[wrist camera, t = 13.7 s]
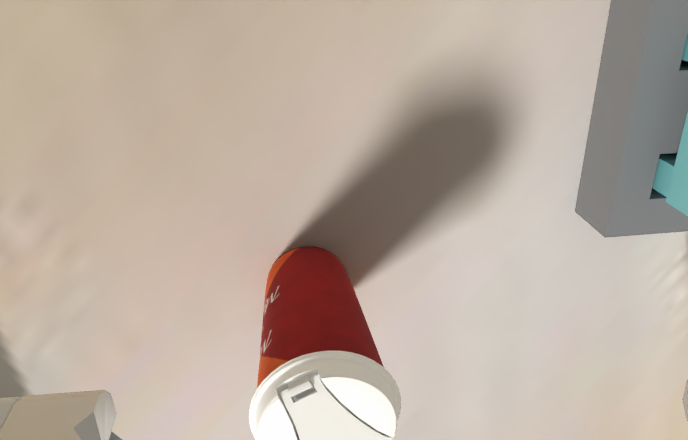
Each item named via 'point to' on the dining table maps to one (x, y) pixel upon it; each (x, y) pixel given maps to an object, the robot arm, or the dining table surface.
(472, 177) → the dining table surface
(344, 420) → the paper cup
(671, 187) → the notched turquoise block
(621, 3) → the gray socket block
